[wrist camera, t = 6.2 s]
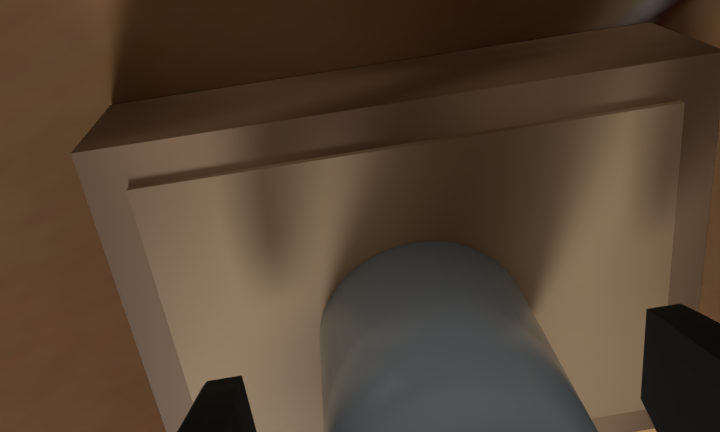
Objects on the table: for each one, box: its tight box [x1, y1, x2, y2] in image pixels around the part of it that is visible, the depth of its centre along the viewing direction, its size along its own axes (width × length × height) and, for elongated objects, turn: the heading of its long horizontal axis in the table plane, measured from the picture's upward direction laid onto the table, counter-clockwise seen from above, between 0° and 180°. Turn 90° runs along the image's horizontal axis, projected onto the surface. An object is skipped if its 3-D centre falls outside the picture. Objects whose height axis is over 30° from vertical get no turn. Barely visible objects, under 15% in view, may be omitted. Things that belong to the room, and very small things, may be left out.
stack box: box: [71, 22, 720, 432], centre depth 16 cm, size 12×9×3 cm
